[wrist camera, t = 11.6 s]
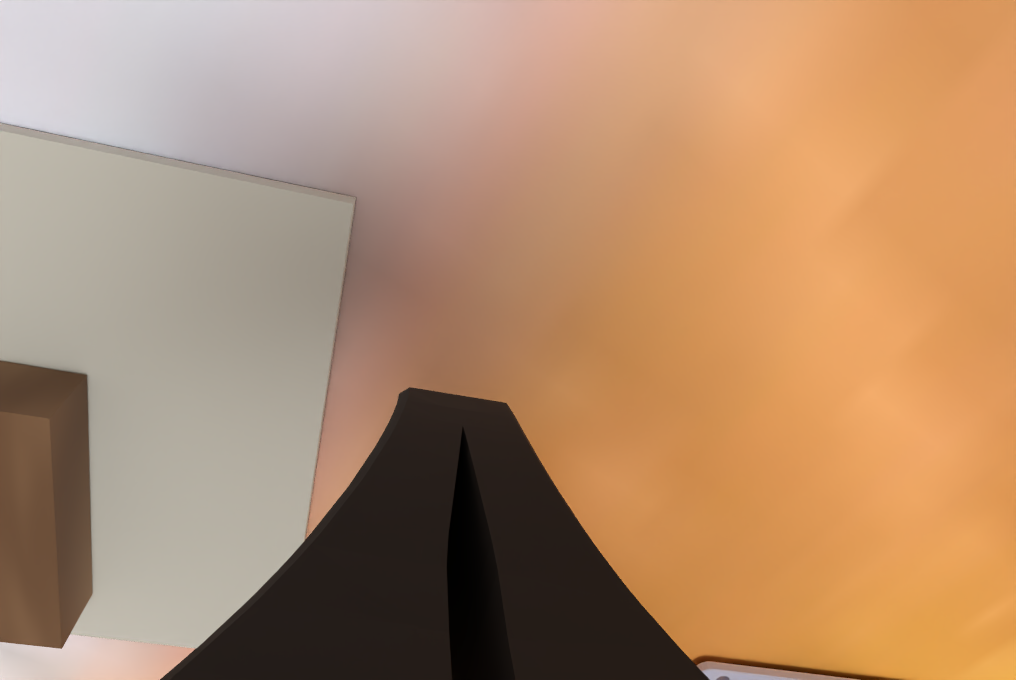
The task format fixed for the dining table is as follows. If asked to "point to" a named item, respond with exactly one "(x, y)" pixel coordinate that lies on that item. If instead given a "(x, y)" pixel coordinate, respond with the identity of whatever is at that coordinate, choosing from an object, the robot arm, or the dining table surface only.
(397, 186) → the dining table surface
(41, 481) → the tile
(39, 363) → the mat
